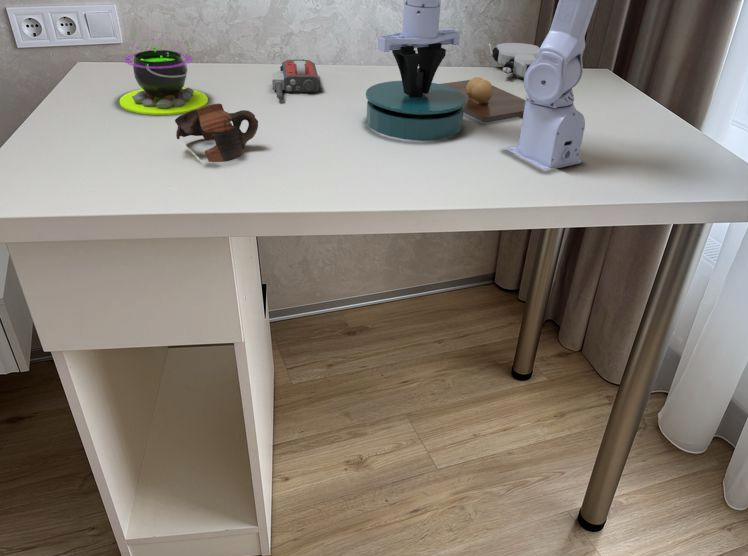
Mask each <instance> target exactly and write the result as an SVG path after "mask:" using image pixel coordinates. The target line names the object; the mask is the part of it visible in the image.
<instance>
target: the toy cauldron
mask: <svg viewBox="0 0 748 556" xmlns="http://www.w3.org/2000/svg"><path fill="white" fill-rule="evenodd" d="M160 32H161V33H163V32H162V31H160ZM151 33H158V31H151ZM145 34H146V32H143V33H142V36H145V37H146V41H149V36H146V35H145ZM164 35H167V32H164ZM150 38H152V39H151V41H153V40H157V41H158V40H159V41H160V40H161V41H163V40H164V41H167V39H164V38H163V35H162V36H160V38H159V36H156V38H153V37H152V36H150ZM157 38H158V39H157ZM161 38H162V39H161ZM144 41H145V39H144V40H143V39H141V42H144ZM169 41H170V42H174V43H176V41H175V40H173V39H170V40H169ZM136 43H137V41H135V42H132V45H131V47H132V48H133V49H137V50H140V48H138V47H135V44H136ZM177 44H178V45H177V46H176V47H172V48H170V49H169V48H168V49H167V50H166V49H157V47H156V46H153V47H152V49H149V50H144V49H143V48H141V51H139V52H135V53H130V54H128V55H127V56H124V57H123V58H122V61H123V63H124V64H127V65H128V66H131V67H132V68H133V74H134V79H135V81H136V83H137V84H138V87H139V88H140V89H137V90H133V91H130V92H128V93H126V94H124V95H122V96H121V97H119V98H120V99H119V105H120V107H121V108H122V109H124V110H126V111H128V112H131V113H135V114H142V115H149V116H171V115H180V114H181V115H182V114H185V113H187V112H189V111H191V110H194V109H198V108H200V107H204V106H207V105H208V102H209V99H208V96H207V94H205V93H203V92H201V91H199V90H196V89H192V88H190V87H185V83H186V79H187V75H188V64H189V63H191V62H193V60H194V58H193V57H192V56H191V55H190V54H187V53H183V52H180V51H173V50H175V49H177V48H180V47H181V43H180V42H179V41H177ZM182 57H184V58H185V60H184V59H183V58H182ZM132 58H133V61H132Z"/></svg>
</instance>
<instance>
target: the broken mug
mask: <svg viewBox="0 0 748 556" xmlns="http://www.w3.org/2000/svg"><path fill="white" fill-rule="evenodd" d="M243 121H247V123H248V126H247V129H246V131H244V132H243V131H242V130H241V125H242V123H243ZM174 122H175V124H176V126H177V128H176V132H175V133H176V134H175V136H176V140H180V138H181V137H182V138H186V137H190V136H193V137H201V136H202V137H203V140H205V141H214V142H215V145H214V146H213V147H210V148H209V149H206V150H204V155H205V156H206V159H207V161H208V162H209V163H222V162H226V161H229V160H231V161H232V160H234V159H237V158H239V157H240V156H242V153H243V149H244V148H245V147H246V144H247V143H248V142H249V141H251V140H252V139H253V138H254V137H255V136H256V134H257V131H258V129H259V120H258V119H257V118H256V115H255V114H254V113H253V112H252V111H250V110H247V109H243V110H239V111H236V112H228V111H225V109H224V107H223V104H222V103H210V104H207V105H205V106H204V107H200V108H198V109H194V110H191V111H189V112H187V113H182V114H181V115H179V116H178V117H176V118H175V119H174Z"/></svg>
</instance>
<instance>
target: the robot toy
mask: <svg viewBox="0 0 748 556" xmlns="http://www.w3.org/2000/svg"><path fill="white" fill-rule="evenodd" d="M488 48H489V51H490V57H492V58H493V60H494V61H495V62H496V63H497V64H498V65H500V66H501V67H502V72H503V73H505V74H512V72H513V73H514V75H515V76H516V78H518V79H524V77H525V73H526V71H527V69H528V68H529V66H530V65H531V64H532V63H533V62H534V61H535V59H536V58H537V55H538V52H539V49H540V47H539V46H538V45H534V44H530V43H523V42H502V43H499V44H497V45H496V47H493V49H492V46H491V43H489V44H488Z"/></svg>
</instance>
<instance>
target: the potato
mask: <svg viewBox="0 0 748 556" xmlns="http://www.w3.org/2000/svg"><path fill="white" fill-rule="evenodd" d="M469 80H470V81H469V82H468V83H467V86H466V92H467V95H468V100H470V101H473V102H475V103H477V104H481V103H488V102H489V99H490V98H491V97H492V95H493V87H492V86H493V85H492V83H491V82H490V81H489V80H488V79H484V78H482V77H478V76H475V77H473V78H471V79H469Z"/></svg>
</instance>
